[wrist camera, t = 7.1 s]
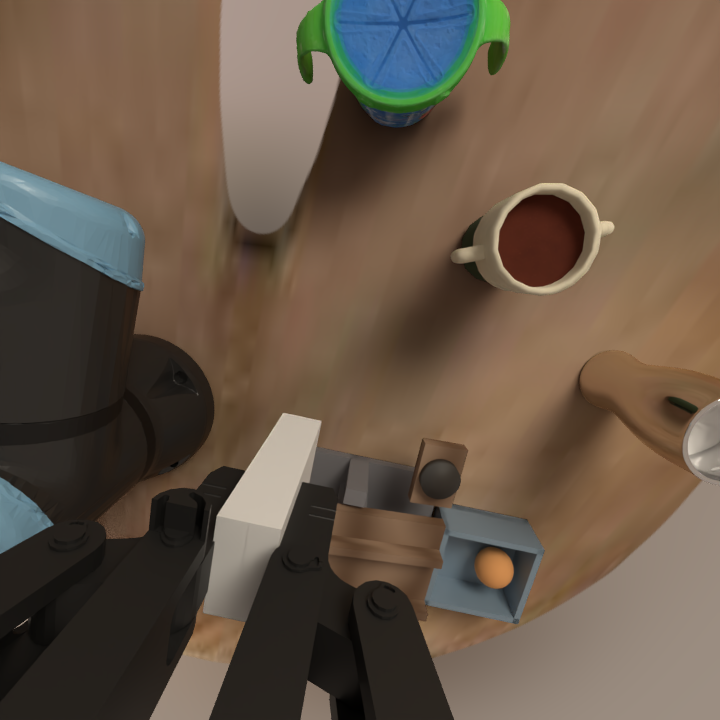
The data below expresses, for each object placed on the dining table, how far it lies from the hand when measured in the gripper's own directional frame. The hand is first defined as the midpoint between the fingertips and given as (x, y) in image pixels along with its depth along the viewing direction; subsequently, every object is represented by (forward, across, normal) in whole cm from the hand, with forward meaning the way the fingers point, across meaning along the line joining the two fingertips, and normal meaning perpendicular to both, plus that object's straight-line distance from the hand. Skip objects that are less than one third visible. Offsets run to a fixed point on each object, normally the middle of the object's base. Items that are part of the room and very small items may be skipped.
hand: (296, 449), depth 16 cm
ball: (+23, +20, -21) cm, 37 cm away
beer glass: (+27, +27, +1) cm, 38 cm away
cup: (+26, +19, -21) cm, 38 cm away
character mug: (+27, +12, +11) cm, 31 cm away
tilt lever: (+22, +4, -17) cm, 28 cm away
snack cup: (+27, 0, +23) cm, 35 cm away
